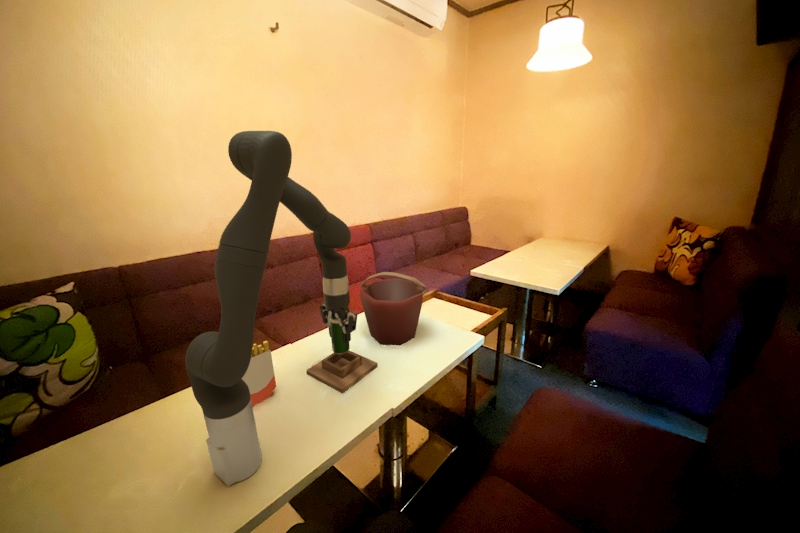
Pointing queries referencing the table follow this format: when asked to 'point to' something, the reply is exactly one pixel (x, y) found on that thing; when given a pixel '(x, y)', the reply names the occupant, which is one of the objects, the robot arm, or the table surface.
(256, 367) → the french fries container
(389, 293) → the bucket
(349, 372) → the can holder
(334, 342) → the beer can
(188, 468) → the table surface
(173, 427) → the table surface
